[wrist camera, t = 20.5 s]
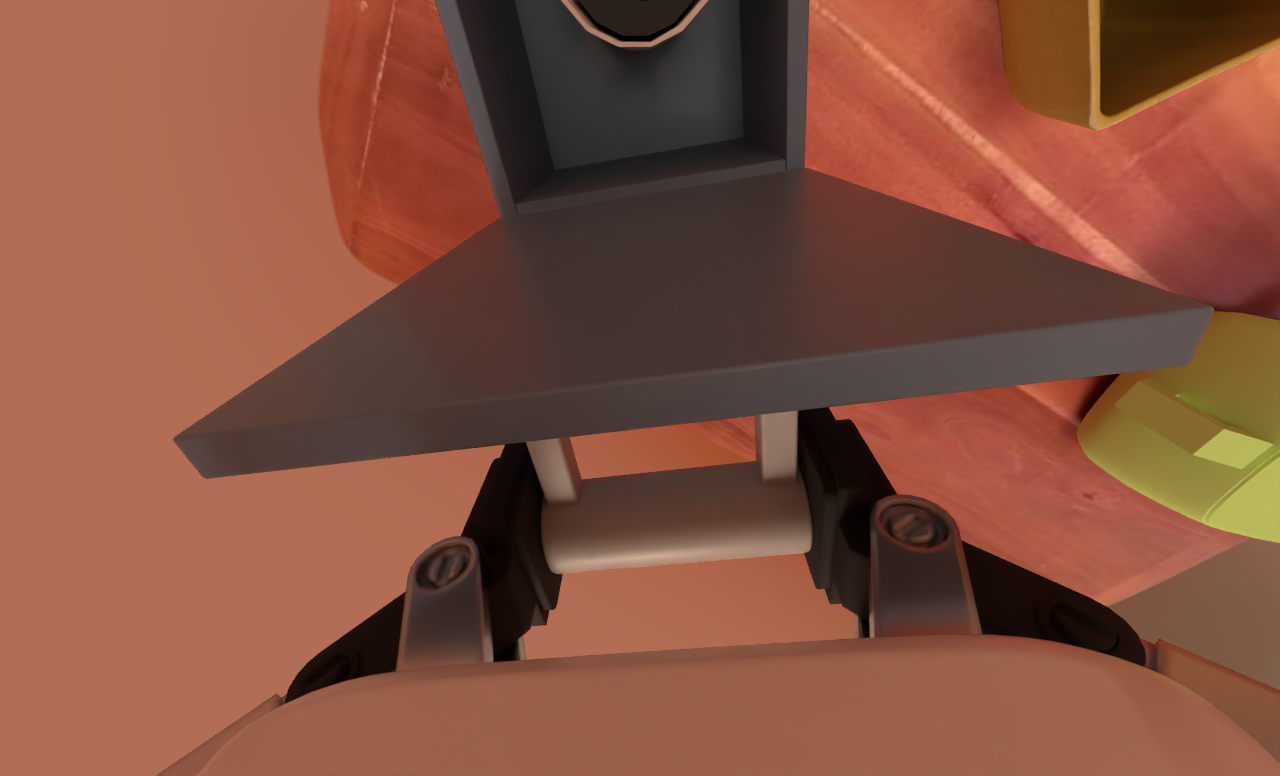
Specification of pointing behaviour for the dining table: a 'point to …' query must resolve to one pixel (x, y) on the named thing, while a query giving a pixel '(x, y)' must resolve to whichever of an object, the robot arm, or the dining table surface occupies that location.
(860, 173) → the dining table surface
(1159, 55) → the flower pot
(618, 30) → the beige hollow cylinder
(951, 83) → the dining table surface
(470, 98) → the chest
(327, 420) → the lid
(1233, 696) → the robot arm
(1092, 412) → the teapot
